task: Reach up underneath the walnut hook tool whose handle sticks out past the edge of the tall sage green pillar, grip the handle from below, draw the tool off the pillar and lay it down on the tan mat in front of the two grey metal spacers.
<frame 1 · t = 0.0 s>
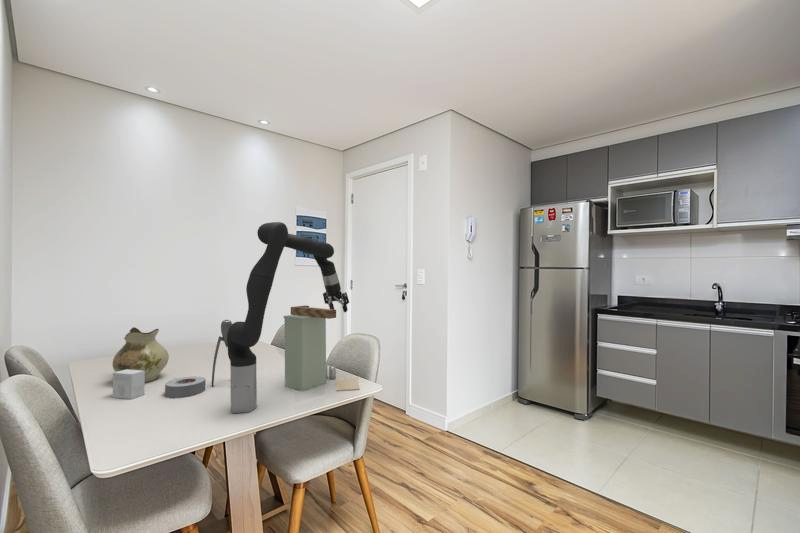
hand: (339, 311, 194), 31 cm above the table, tool tilted 20°, fingers open, 8 cm apart
tape roll: (185, 392, 165), on the table
mat: (347, 384, 173), on the table
skincare box: (129, 396, 160), on the table
spacer b: (324, 377, 184), on the table
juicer: (229, 385, 174), on the table
tall sage green pillar: (305, 384, 174), on the table
green ceramic vase: (140, 380, 183), on the table
hook tool: (312, 316, 171), point 32 cm above the table, touching tall sage green pillar
spacer a: (332, 378, 183), on the table
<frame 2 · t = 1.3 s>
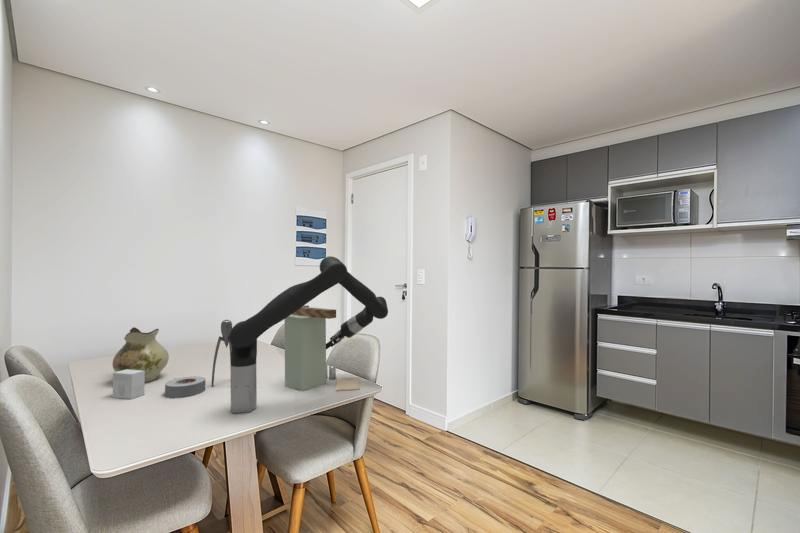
hand: (328, 343, 182), 17 cm above the table, tool tilted 55°, fingers open, 8 cm apart
nothing on the table moved.
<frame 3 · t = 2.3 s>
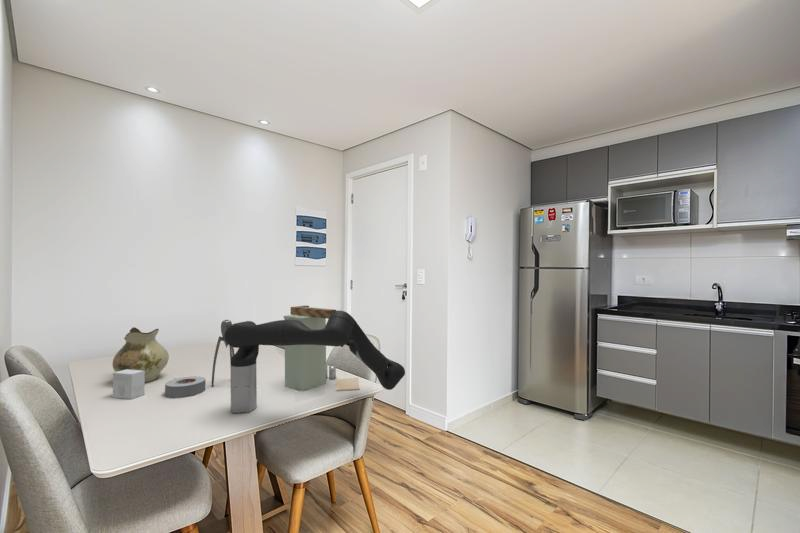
hand: (338, 327, 162), 28 cm above the table, tool pointing upward, fingers open, 8 cm apart
nothing on the table moved.
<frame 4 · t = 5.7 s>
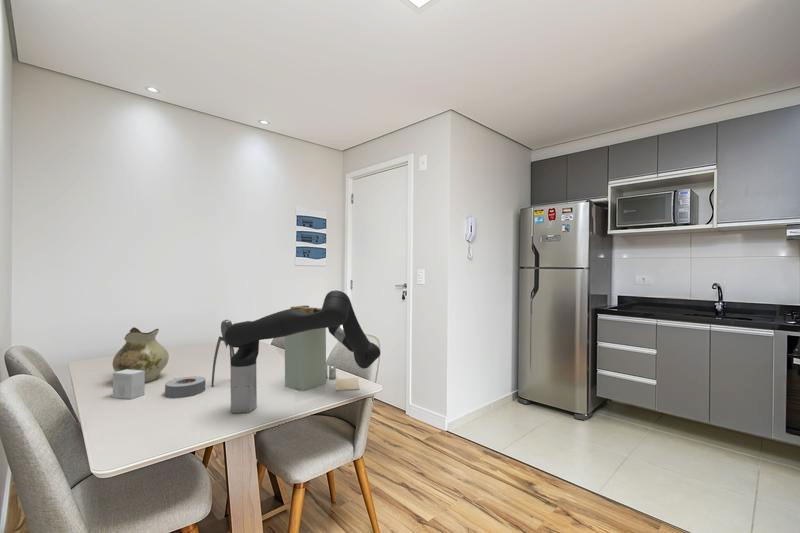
hand: (318, 309, 169), 35 cm above the table, tool pointing upward, fingers closed on hook tool, 4 cm apart
hook tool: (312, 316, 171), point 32 cm above the table, touching gripper, tall sage green pillar
everything else where it was.
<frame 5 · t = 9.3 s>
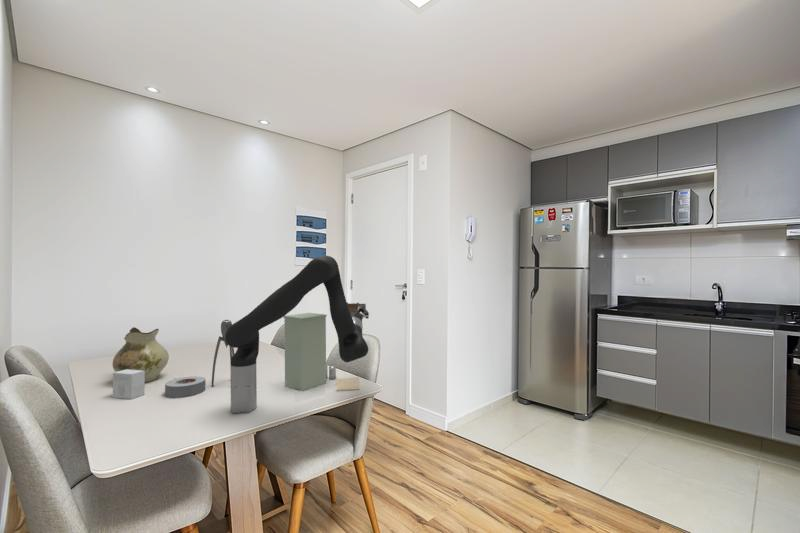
hand: (352, 304, 168), 37 cm above the table, tool pointing upward, fingers closed on hook tool, 4 cm apart
hook tool: (352, 311, 171), point 34 cm above the table, tilted 6°, touching gripper
everything else where it was.
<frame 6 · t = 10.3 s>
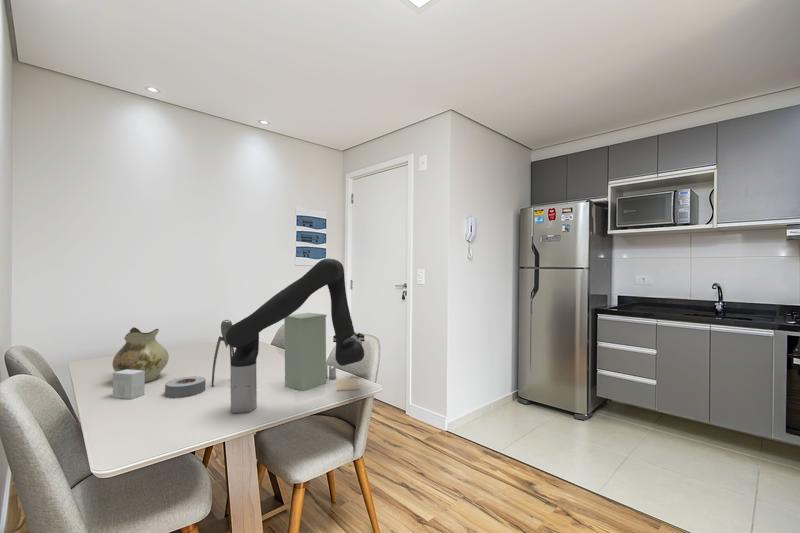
hand: (348, 333, 172), 24 cm above the table, tool horizontal, fingers closed on hook tool, 4 cm apart
hook tool: (348, 342, 174), point 19 cm above the table, tilted 27°, touching gripper
everything else where it was.
when the fingers open (13 cm above the table, at t = 12.7 s): hook tool drops 8 cm, resting on mat.
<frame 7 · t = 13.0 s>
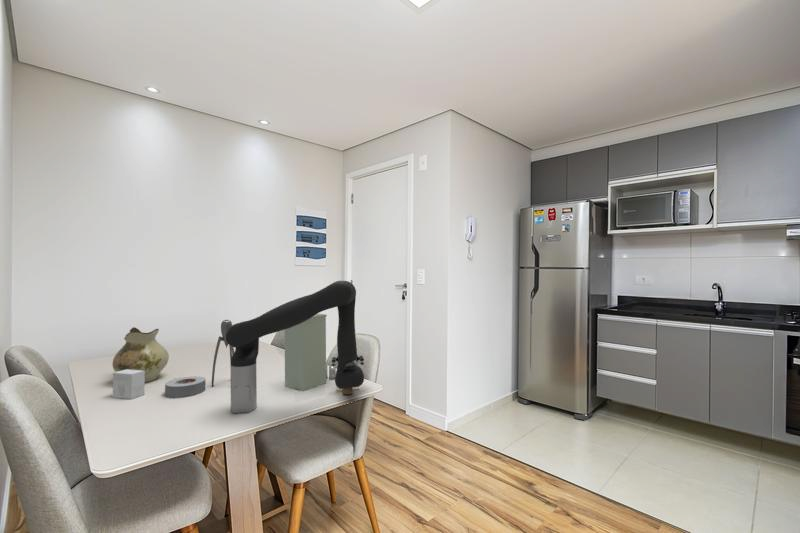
hand: (347, 356, 172), 13 cm above the table, tool horizontal, fingers open, 6 cm apart
hook tool: (347, 384, 172), point 1 cm above the table, touching mat
everything else where it was.
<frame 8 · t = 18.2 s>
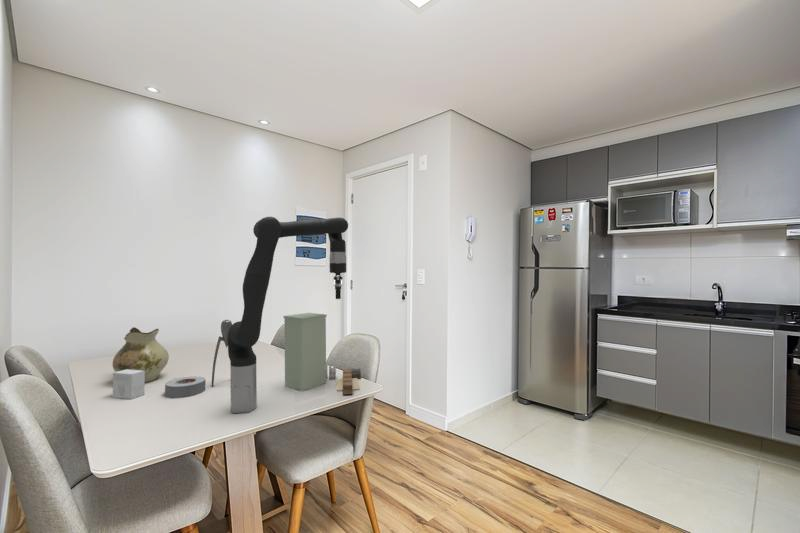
hand: (338, 298, 170), 40 cm above the table, tool pointing down, fingers open, 8 cm apart
nothing on the table moved.
at the end: hook tool inside the target area (2.4 cm from its centre), point 0.6 cm above the table; the gripper is holding nothing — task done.
